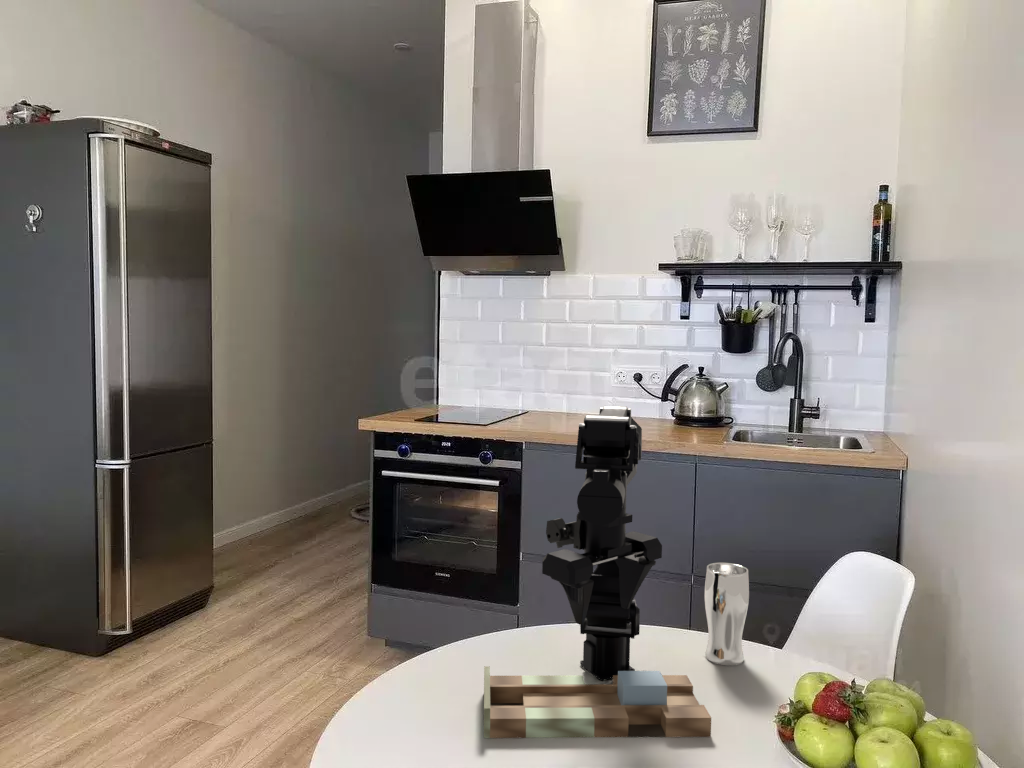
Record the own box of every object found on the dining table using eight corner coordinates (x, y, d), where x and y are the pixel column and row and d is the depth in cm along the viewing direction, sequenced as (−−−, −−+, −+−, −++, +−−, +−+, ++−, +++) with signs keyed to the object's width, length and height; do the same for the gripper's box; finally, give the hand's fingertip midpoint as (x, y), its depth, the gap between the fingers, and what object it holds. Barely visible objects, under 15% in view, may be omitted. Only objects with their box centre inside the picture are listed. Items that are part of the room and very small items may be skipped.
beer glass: (747, 652, 128) (750, 564, 127) (745, 670, 121) (749, 577, 120) (704, 646, 130) (707, 560, 129) (700, 663, 124) (703, 572, 123)
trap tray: (686, 692, 114) (687, 665, 113) (710, 736, 101) (711, 707, 101) (483, 692, 113) (484, 666, 112) (483, 737, 100) (484, 708, 100)
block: (659, 694, 110) (659, 670, 109) (666, 710, 105) (667, 685, 105) (617, 694, 109) (617, 670, 109) (622, 710, 105) (623, 685, 105)
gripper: (607, 487, 118) (605, 585, 119) (516, 504, 106) (514, 614, 107) (665, 500, 110) (662, 606, 111) (573, 521, 97) (570, 640, 99)
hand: (602, 615), depth 107 cm, fingers open, 9 cm apart
